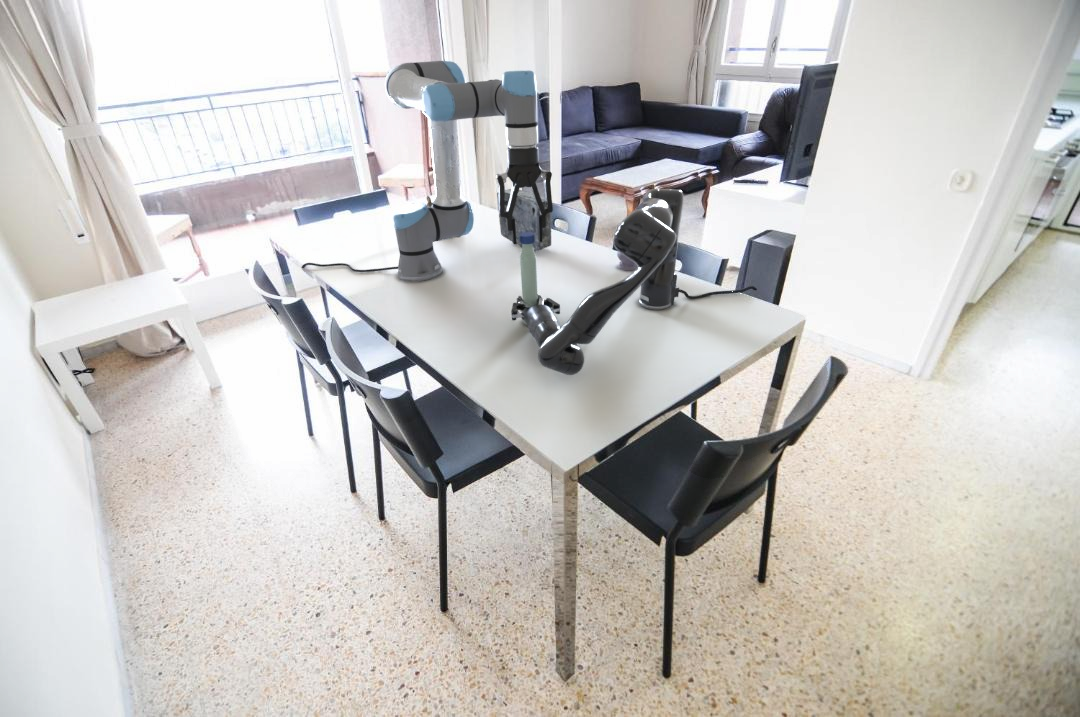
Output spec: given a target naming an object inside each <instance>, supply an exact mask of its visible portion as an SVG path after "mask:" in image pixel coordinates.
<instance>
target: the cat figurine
mask: <svg viewBox="0 0 1080 717" xmlns="http://www.w3.org/2000/svg"><path fill="white" fill-rule="evenodd" d="M616 256H617V258H618V260H619V262H618V268H619V269H620V270H623V271H634V270H635V269H636V268H637V267H638V265H637V264H636V263H634V262H632V261H631V260H630V259H628V258H627V257H625V256H624V255H622V254H621V253H620V252H619V251H618V250H617V253H616Z"/></svg>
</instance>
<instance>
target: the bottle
mask: <svg viewBox="0 0 1080 717" xmlns="http://www.w3.org/2000/svg"><path fill="white" fill-rule="evenodd" d="M536 256H537V255H536V252H535V250H533V247H532V244H522V247H521V251H520V256H519V257H520V258H519V264H520V265H519V266H520V280H521V281H520V282H521V297H522V299H523V302H525V303H526V302H527V303H528V304H530V305H537V304H538V296H537V294H538V274H537V272H538V271H537V257H536ZM523 324H524V325H526V326H527V324H526V322H525V320H523Z"/></svg>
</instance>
